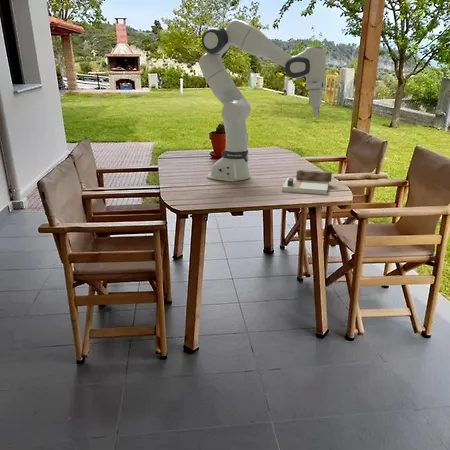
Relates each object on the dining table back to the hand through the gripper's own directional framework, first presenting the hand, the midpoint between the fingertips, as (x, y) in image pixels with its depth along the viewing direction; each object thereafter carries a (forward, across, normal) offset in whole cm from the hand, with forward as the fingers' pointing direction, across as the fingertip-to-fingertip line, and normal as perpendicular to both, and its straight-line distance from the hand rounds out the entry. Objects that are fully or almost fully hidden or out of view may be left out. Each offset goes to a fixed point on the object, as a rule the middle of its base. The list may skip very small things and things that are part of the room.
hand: (316, 115), depth 191 cm
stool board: (+32, +12, -4) cm, 34 cm away
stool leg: (+30, +5, -2) cm, 30 cm away
